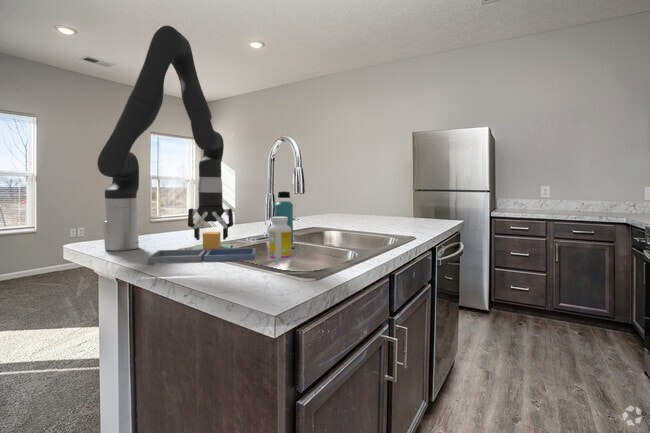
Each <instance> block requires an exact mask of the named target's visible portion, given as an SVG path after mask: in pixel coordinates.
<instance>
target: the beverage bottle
mask: <svg viewBox="0 0 650 433" xmlns="http://www.w3.org/2000/svg"><path fill="white" fill-rule="evenodd" d="M290 193H291V192H290V191H278V193H277V198H278V199H279V198H280V199H291V194H290ZM293 207H294V204H293V203H292V202H291V201H285V200H284V201H282V200H281V201H276V203H274V216H273V217H288V221H287V225H288V226H290V228H291V247H292V246H293V245H294V225H293V224H294V222H293V221H294V208H293Z"/></svg>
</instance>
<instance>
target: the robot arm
mask: <svg viewBox="0 0 650 433" xmlns="http://www.w3.org/2000/svg"><path fill="white" fill-rule="evenodd" d="M170 65H172V67H173V69H174V71H175V73H176V74H177V77H178V80H179V85H180V94H181V101H182V103H183V106H184V108H185V111H186V113H187V116H188V119H189V121H190V126H191V132H192V137H193V139H194V142H195V144H196V145H197V147H198V148H200V149H201V150H202V159H200V161H199V163H198V177H199V178H198V184H197V185H198V186H197V190H198V207H197V208H189V209H188V213H187V214H188V215H187V227H189V228H193V231H194V232H193V233H194V234H193V237H194V239H196V241H200V238H201V235H200V233H201V232H200V230H201V229H200V226H201V225H202V224H203V222H205V223H208V222H213V223H215V222H218V223H219V225H221V226H222V239H223V240H224V241H225V240H226V238H227V239H228V237H229V228H232V227H233V226H234V215H233V208H224V206H223V205H224V204H223V180H222V161H223V155H224V148H225V145H224V139H223V136H222V135H221V134H220V132H218V131H216V130H214V127H213V125H212V119H213V118H212V112H211V109H210V107H209V104H208V102H207V100H206V97H205V95H204V92H203V91H204V90H203V89H202V87H201V83H200V80H199V77H198V73H197V70H196V66H195V61H194V54H193V50H192V47H191V44H190V42H189V40H188V39H187V38H186V37H185V36H184V35H183V34H182V33H181V32H180V31H178V30H177V29H176V28H175V27H173V26H171V25H167V24H166V25H165V24H164V25H162V26H160V27H158V28H157V29H156V30H155V32H154V33H153V35H152V37H151V40H150V43H149V46H148V50H147V52H146V56H145V58H144V62H143V65H142V67H141V69H140V72H139V74H138V76H137V79H136V80H135V83H134V85H133V87H132V88H131V89H132V90H131V92H130V94H129V95H128V98H127V101H126V103H125V105H124V108H123V110H122V112H121V115H120V116H119V119H118V121H117V123H116V125H115V127H114V129H113V131H112V133H111V134H110V135H109V138H108V139H107V141H106V142H105V144H104V146H103V147H102V149H101V151H100V153H99V155H98V158H97V162H96V163H97V169H98V171H99V172H100V173H101V175H102V176H105V177H108V178H112V181H111V182H112V183H111V184H110V186H109V187H107V188H105V190H104V202H105V204H104V205H105V220H104V221H103V237H104V238H103V239H104V250H105V251H112V252H113V251H116V252H117V251H118V252H119V251H121V252H122V251H130V250H134V249H135V250H136V249H138V248H139V244H140V243H139V224H138V223H139V222H138V221H139V220H138V202H137V201H138V200H137V198H138V197H137V193H138V191H139V188H140V187H139V185H140V167H139V160H138V158H137V156H136V155H135V154H134V153H133V152H131V150H132V148H133V145H134V144H135V142H136V141H137V139H138V138H139V137H140V136H141V135H143V134H144V133H146V131H147V130H148V129H149V128H150V127H151V126H152V124H153V123H154V122H155V121H156V119H157V116H158V115H159V113H160V111H161V108H162V105H163V103H164V102H163V101H164V91H165V89H164V87H165V86H164V85H165V79H166V74H167V72H168V69H169V68H170ZM196 214H198V215H199V218H198V219H197V222H196V223H194V216H195V215H196ZM223 214H225V215H226V216H227V217H228V223H227V222H226V220H224V218H223V217H222V216H223Z"/></svg>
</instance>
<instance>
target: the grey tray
mask: <svg viewBox="0 0 650 433" xmlns="http://www.w3.org/2000/svg"><path fill="white" fill-rule="evenodd" d="M206 253H207V249H193V248H191V249H190V248H189V249H158V250H156V252H154V253H152V254H151V255H149V256H148V257H147V258H146V259H147V265H149V266H150V265H151V266H152V265H155V264H157V263H158V264H159V263H161V264H163V263H193V262H195V263H197V262H198V263H199V262H202V260H204V255H205V254H206Z"/></svg>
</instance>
